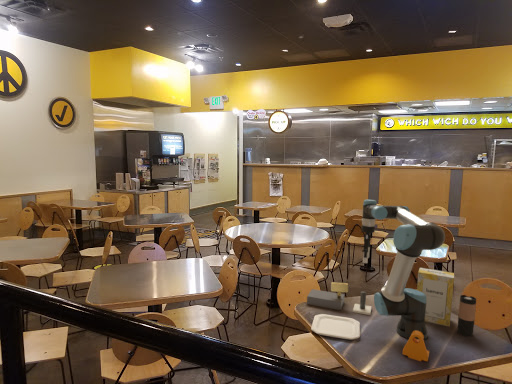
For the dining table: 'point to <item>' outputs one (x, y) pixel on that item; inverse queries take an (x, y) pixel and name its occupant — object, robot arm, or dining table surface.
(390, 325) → the dining table surface
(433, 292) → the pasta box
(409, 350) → the bracket
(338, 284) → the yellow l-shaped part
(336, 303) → the block
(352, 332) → the plate
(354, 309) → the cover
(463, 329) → the travel mug
